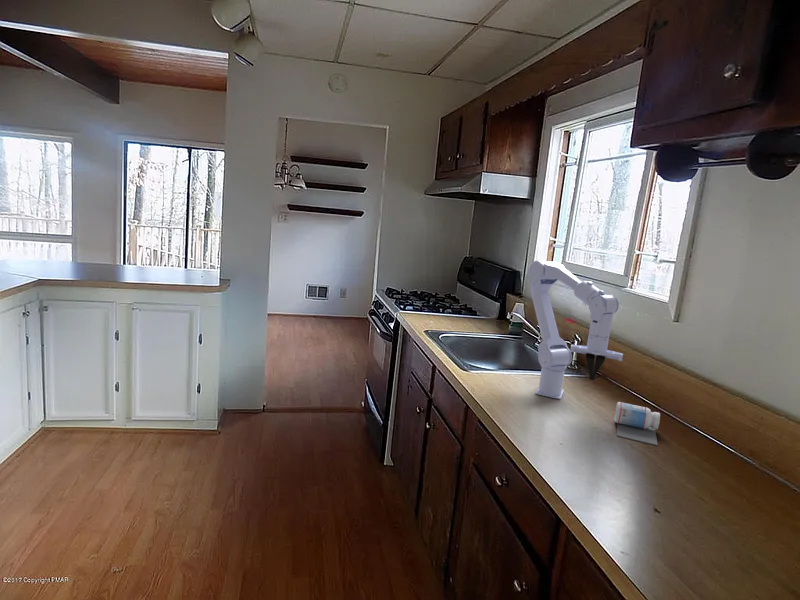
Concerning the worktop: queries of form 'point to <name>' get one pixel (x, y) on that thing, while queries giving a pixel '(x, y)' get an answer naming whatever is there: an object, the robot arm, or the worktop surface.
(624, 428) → the mat
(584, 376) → the worktop surface
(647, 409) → the pill bottle
